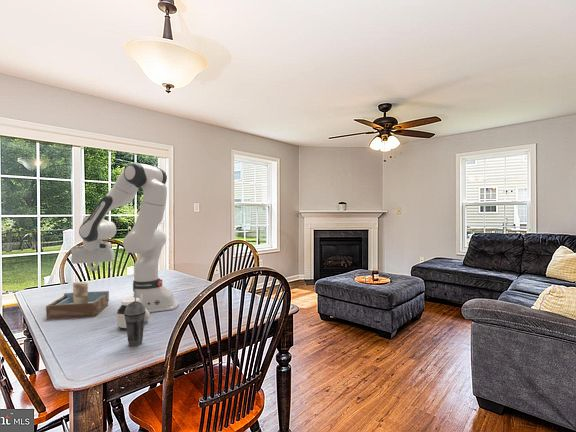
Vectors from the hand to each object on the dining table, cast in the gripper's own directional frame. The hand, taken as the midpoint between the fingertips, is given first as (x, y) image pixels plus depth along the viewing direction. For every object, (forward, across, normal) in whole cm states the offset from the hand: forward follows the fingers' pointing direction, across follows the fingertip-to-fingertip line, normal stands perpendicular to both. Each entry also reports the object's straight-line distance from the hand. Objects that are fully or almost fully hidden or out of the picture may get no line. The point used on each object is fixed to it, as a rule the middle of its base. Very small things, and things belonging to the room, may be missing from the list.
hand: (93, 270), depth 173 cm
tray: (+15, 0, -18) cm, 23 cm away
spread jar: (+18, +30, -45) cm, 57 cm away
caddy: (+16, 0, -20) cm, 26 cm away
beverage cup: (+18, +34, -65) cm, 76 cm away
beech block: (+14, 0, -19) cm, 23 cm away
